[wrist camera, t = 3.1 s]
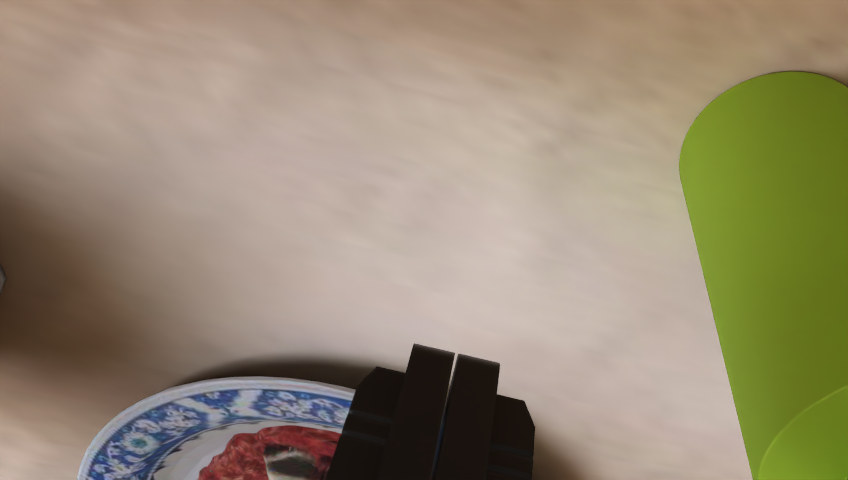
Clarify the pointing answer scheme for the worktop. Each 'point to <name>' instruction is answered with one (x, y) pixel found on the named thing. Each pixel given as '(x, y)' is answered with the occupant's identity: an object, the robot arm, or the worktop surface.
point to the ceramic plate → (224, 432)
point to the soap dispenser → (778, 263)
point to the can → (2, 279)
